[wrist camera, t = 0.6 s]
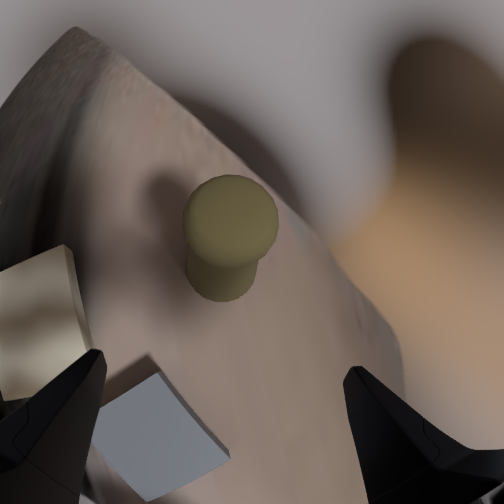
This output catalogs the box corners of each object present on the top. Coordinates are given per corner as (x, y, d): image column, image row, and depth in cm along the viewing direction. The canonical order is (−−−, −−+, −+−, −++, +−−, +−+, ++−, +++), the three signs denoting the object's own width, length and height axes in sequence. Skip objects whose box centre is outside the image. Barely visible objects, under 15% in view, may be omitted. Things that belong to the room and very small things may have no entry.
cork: (270, 267, 24) (316, 210, 14) (221, 317, 22) (235, 293, 12) (221, 221, 25) (234, 140, 15) (171, 266, 23) (147, 204, 13)
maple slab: (105, 379, 19) (96, 382, 17) (15, 399, 15) (4, 401, 14) (72, 251, 22) (63, 244, 20) (-9, 286, 18) (-19, 281, 16)
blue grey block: (228, 448, 19) (230, 459, 16) (151, 489, 16) (146, 502, 14) (162, 369, 20) (156, 372, 18) (87, 415, 17) (76, 421, 15)
